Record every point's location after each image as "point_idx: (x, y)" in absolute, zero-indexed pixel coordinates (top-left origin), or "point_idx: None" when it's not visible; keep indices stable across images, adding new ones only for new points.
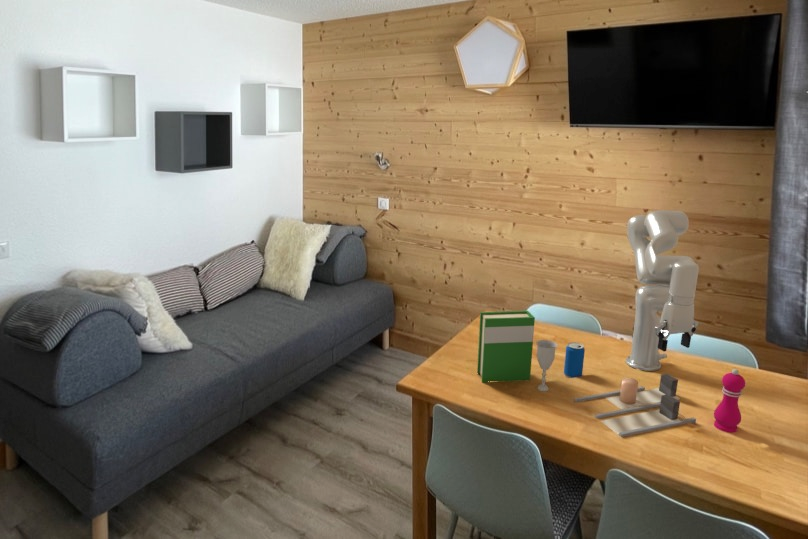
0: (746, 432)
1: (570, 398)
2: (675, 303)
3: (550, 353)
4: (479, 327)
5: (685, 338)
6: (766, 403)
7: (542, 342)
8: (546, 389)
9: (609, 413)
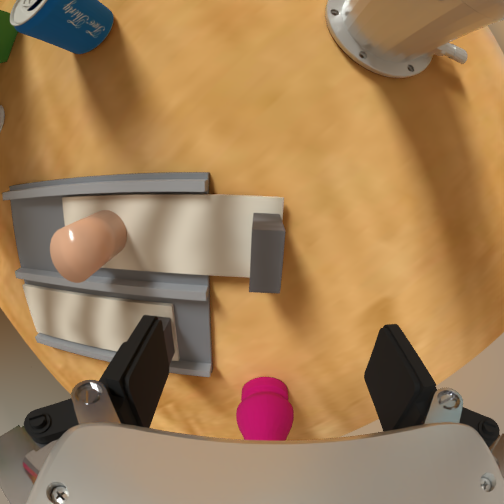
0: (296, 405)
1: (19, 159)
2: None
3: None
4: None
5: (390, 400)
6: (451, 338)
7: None
8: None
9: (36, 280)
